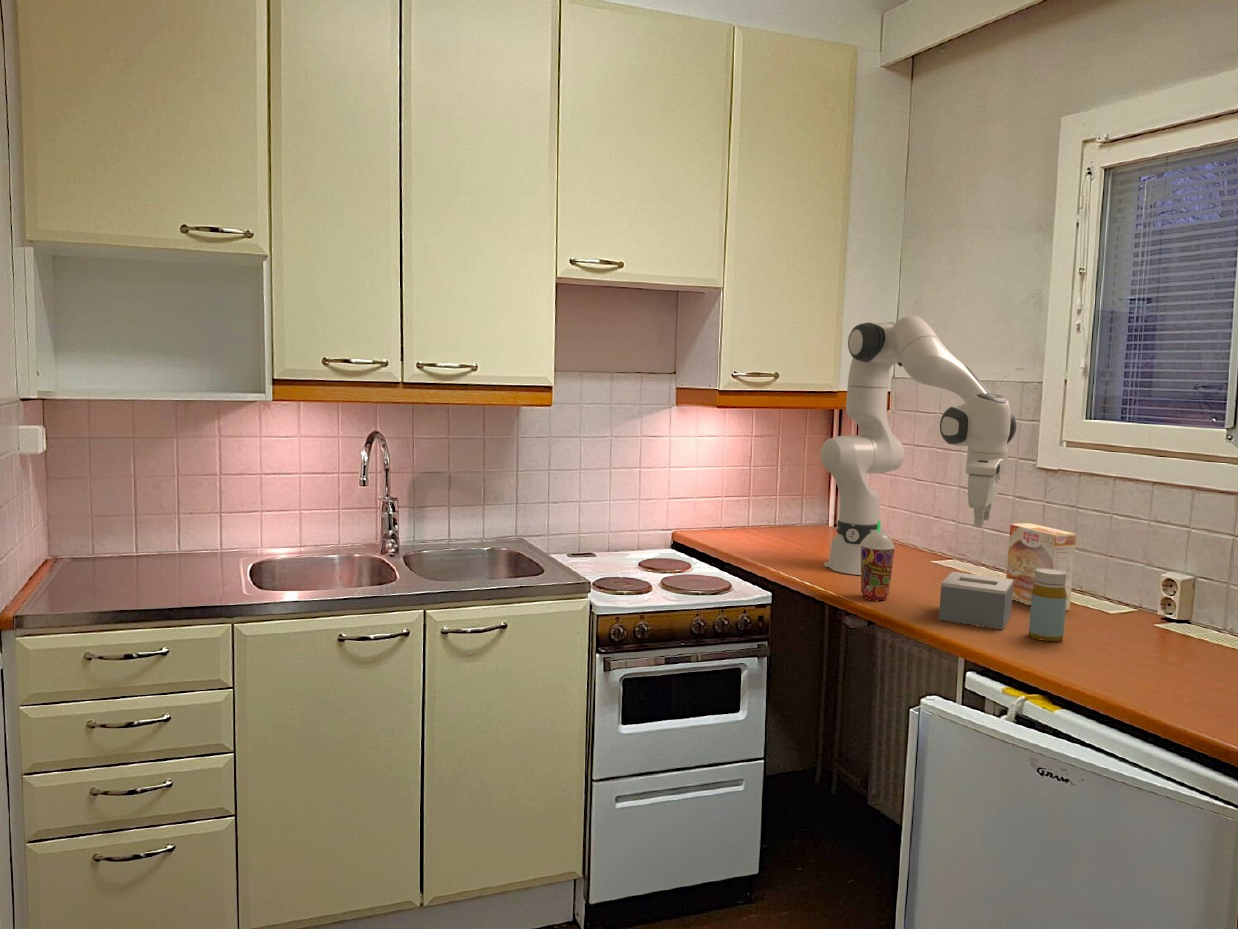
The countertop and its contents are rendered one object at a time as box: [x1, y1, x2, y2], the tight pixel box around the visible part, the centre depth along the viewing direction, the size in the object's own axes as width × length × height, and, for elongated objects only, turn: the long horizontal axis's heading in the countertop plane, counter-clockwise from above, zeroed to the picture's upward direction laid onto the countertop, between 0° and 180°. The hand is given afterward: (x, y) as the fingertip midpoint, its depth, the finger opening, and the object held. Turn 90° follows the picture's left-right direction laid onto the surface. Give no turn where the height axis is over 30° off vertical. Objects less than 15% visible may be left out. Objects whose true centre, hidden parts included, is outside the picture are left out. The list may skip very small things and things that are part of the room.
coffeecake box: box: [1005, 522, 1077, 611], centre depth 239 cm, size 15×7×20 cm, turn 21°
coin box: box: [938, 571, 1013, 630], centre depth 224 cm, size 14×14×9 cm
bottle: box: [1028, 568, 1067, 642], centre depth 209 cm, size 7×7×15 cm
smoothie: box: [860, 520, 896, 601], centre depth 240 cm, size 8×8×20 cm
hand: (981, 522), depth 222 cm, fingers open, 8 cm apart
